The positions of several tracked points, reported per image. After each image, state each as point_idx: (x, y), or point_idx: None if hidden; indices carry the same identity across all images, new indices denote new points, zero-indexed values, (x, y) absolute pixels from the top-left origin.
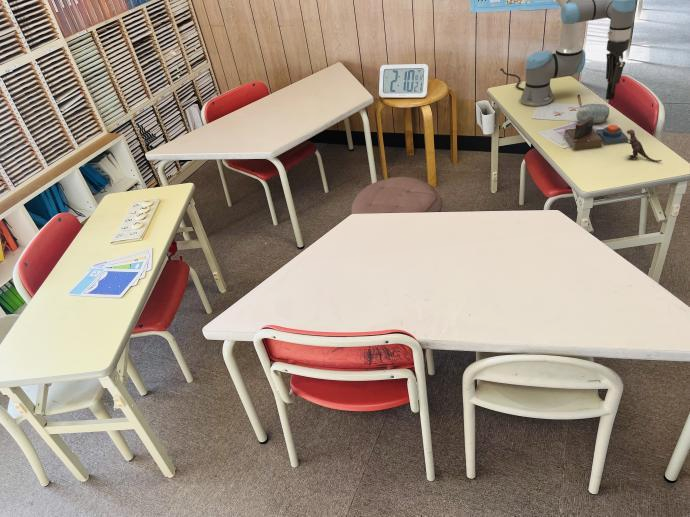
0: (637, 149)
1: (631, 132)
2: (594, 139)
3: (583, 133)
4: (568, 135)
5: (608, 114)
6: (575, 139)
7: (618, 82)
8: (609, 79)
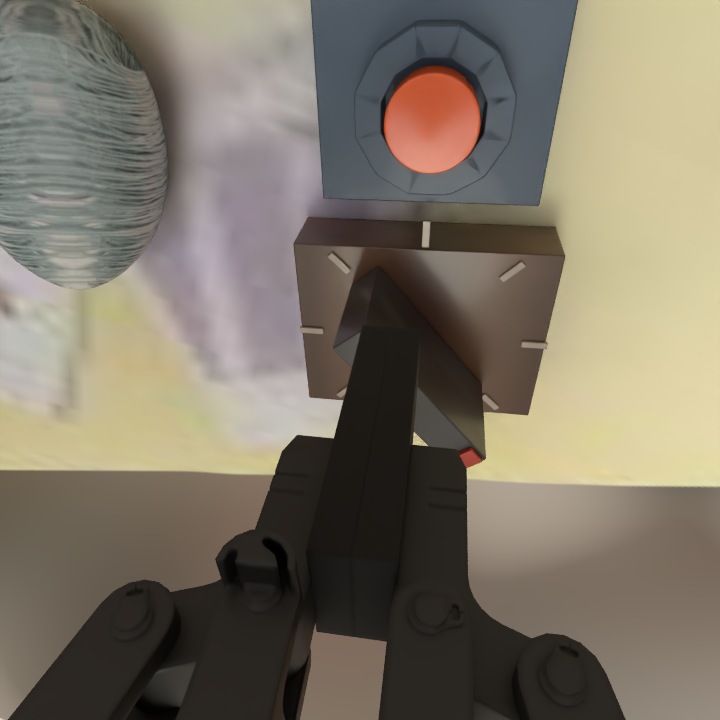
0: None
1: None
2: (531, 302)
3: (450, 361)
4: None
5: (93, 26)
6: None
7: (608, 703)
8: (297, 701)
